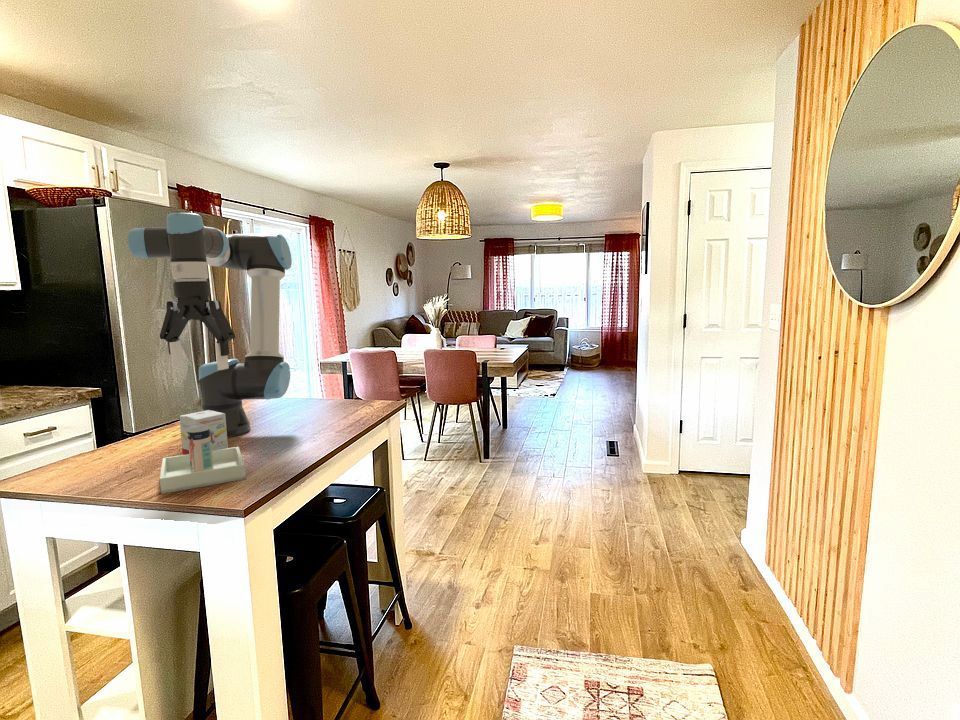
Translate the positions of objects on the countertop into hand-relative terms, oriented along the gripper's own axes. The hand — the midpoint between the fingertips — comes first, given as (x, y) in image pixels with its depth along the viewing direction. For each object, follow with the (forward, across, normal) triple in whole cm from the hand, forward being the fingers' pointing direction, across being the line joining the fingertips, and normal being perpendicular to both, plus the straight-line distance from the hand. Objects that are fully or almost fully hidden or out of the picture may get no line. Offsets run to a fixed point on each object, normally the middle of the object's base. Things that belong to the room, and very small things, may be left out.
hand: (200, 368), depth 128 cm
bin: (+26, +1, -3) cm, 26 cm away
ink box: (+27, -11, +10) cm, 31 cm away
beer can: (+26, +1, -3) cm, 26 cm away
